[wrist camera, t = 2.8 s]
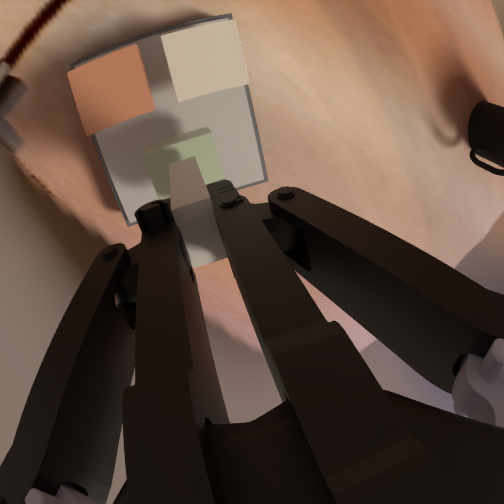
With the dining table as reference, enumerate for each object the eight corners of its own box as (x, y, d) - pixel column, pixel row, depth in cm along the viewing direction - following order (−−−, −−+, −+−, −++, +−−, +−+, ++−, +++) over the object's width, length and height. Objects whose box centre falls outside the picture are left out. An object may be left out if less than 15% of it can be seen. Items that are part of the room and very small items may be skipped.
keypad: (79, 65, 17) (68, 64, 15) (224, 20, 18) (232, 12, 16) (130, 213, 25) (127, 229, 23) (259, 171, 26) (269, 182, 24)
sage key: (145, 146, 18) (142, 154, 16) (206, 126, 18) (212, 132, 16) (164, 201, 20) (164, 216, 18) (221, 182, 21) (228, 195, 19)
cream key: (161, 41, 15) (160, 35, 12) (226, 26, 15) (235, 18, 13) (177, 100, 17) (178, 102, 15) (240, 83, 17) (250, 83, 15)
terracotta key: (78, 73, 14) (66, 72, 12) (139, 48, 14) (135, 43, 12) (96, 130, 16) (86, 136, 14) (155, 107, 17) (154, 110, 15)
